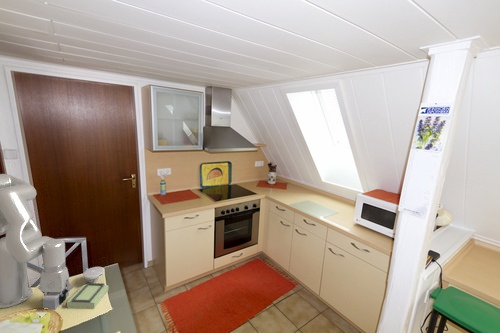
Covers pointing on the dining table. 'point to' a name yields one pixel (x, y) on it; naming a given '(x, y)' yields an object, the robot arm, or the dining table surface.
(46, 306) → the grey small block
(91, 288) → the shallow green tray
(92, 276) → the showerhead
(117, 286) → the dining table surface
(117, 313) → the dining table surface
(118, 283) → the dining table surface
